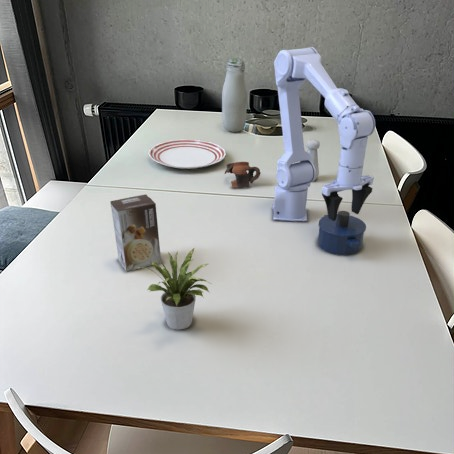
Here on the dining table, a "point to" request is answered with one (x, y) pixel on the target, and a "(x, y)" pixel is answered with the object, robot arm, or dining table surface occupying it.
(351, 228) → the lid
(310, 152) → the salt shaker
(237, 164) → the pottery mug
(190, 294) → the house plant
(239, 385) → the dining table surface
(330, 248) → the pot
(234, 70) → the glass bottle
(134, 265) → the cracker box
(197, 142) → the dinner plate
